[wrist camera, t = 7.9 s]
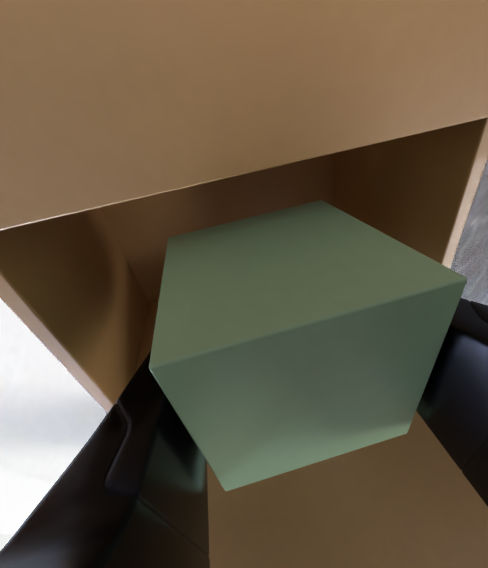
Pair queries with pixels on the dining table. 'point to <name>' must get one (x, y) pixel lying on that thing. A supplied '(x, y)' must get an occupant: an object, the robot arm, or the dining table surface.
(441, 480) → the flap
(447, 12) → the carton
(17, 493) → the dining table surface
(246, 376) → the block
